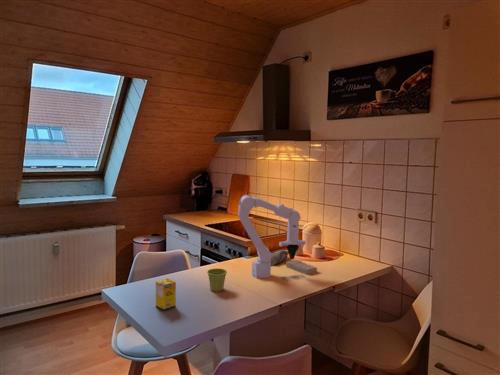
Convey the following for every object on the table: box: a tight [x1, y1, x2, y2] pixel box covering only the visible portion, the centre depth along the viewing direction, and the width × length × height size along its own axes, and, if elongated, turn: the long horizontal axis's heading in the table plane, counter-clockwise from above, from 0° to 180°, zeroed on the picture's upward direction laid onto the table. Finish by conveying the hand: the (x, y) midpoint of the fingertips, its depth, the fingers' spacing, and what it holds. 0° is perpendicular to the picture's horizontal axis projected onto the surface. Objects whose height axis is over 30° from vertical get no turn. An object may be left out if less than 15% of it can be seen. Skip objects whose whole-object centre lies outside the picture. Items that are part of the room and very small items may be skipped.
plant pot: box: [206, 268, 228, 292], centre depth 177 cm, size 9×9×9 cm
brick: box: [285, 259, 318, 276], centre depth 207 cm, size 17×8×5 cm, turn 38°
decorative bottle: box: [271, 249, 289, 267], centre depth 225 cm, size 26×8×7 cm, turn 148°
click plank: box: [285, 277, 307, 282], centre depth 189 cm, size 12×7×1 cm, turn 113°
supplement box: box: [155, 278, 177, 312], centre depth 156 cm, size 6×6×11 cm
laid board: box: [280, 274, 306, 281], centre depth 194 cm, size 13×4×1 cm, turn 113°
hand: (291, 258), depth 197 cm, fingers closed
